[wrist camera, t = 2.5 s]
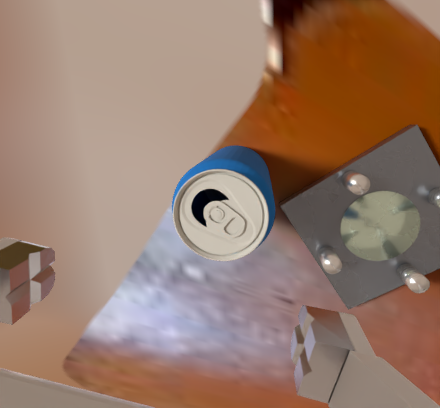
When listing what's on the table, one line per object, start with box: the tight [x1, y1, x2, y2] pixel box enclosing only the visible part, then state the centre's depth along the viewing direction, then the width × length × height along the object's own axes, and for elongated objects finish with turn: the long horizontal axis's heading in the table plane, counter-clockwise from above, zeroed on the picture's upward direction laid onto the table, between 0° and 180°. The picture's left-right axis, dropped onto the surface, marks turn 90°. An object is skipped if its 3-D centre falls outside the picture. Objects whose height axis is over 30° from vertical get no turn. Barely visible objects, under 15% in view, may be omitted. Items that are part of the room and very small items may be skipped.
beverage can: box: [172, 146, 275, 261], centre depth 22 cm, size 6×6×12 cm
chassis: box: [279, 125, 440, 309], centre depth 25 cm, size 13×13×4 cm
